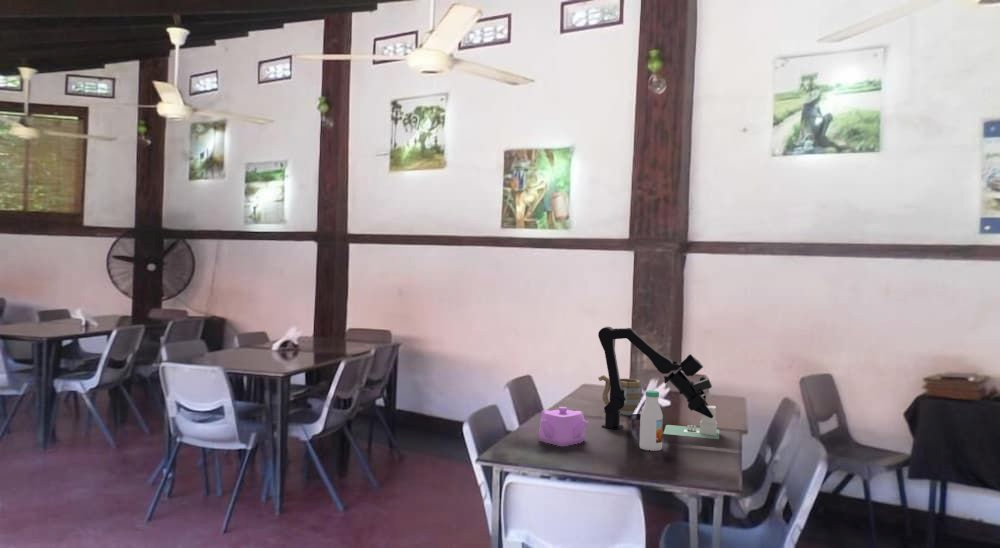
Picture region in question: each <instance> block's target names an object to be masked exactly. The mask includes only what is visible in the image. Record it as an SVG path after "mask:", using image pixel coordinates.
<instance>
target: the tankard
mask: <svg viewBox="0 0 1000 548" xmlns="http://www.w3.org/2000/svg"><path fill="white" fill-rule="evenodd" d="M598 381H599V382H602V381H604V383H605V384H604V389H603V392H602V401H603V403H604V405H605V406H606V405H607V404H608V403H609V402H610V399H609V398H608V397H609V394H610V380H609V377H607V376H606V375H601V376H599V377H598ZM620 383H621V386H622V388H626V393H627V396H628V398H627V402H626V404H625V405H624V406H623V408H621V409H620V410H619V411H620V415H621V414H623V416H632V415H631V414H632V413H633V412H634V410H635V408H636V407H637V405H638V403H639V402H640V400H641V398H642V397H641V393H643V387H642V382H641V380H638V379H636V378H625V377H624V378H620Z"/></svg>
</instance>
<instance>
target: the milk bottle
mask: <svg viewBox="0 0 1000 548" xmlns="http://www.w3.org/2000/svg"><path fill="white" fill-rule="evenodd" d="M659 396H660V392H659V391H657V390H646V391H645V402H644V405H643V407H642V408H641V409H642V411H641V414H640V417H639V419H640V421H639V422H640V423H639V448H640V449H641V450H644V451H649V450H650V451H651V452H656V451H661V450H662V449H663V432H664V431H663V429H664V427H663V426H664V420H663V419H664V416H663V411H662V409H661V408H662V407H661V406H660V403H659V399H660V397H659Z"/></svg>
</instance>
